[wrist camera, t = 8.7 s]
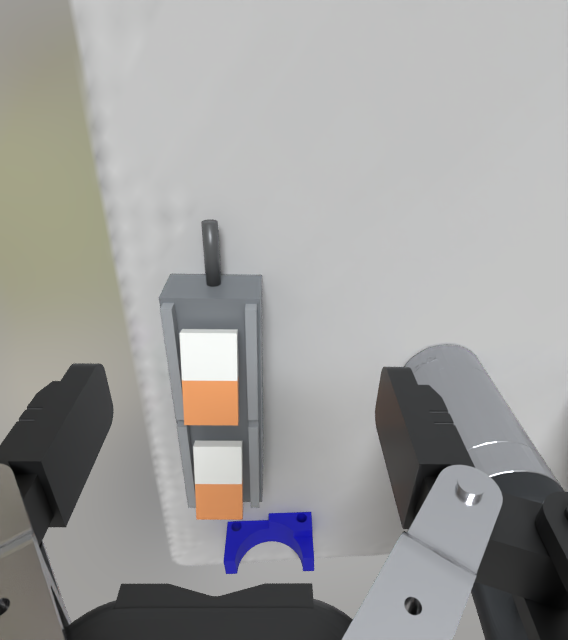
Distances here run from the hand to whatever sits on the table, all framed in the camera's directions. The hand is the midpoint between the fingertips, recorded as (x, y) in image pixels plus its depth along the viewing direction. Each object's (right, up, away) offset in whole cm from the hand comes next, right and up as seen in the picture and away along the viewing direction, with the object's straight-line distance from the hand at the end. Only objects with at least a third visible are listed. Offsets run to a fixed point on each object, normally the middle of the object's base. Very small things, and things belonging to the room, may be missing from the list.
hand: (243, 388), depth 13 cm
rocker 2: (-6, -15, +36) cm, 39 cm away
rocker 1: (-6, -3, +29) cm, 29 cm away
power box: (-6, -3, +37) cm, 37 cm away
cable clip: (-1, -27, +52) cm, 59 cm away
